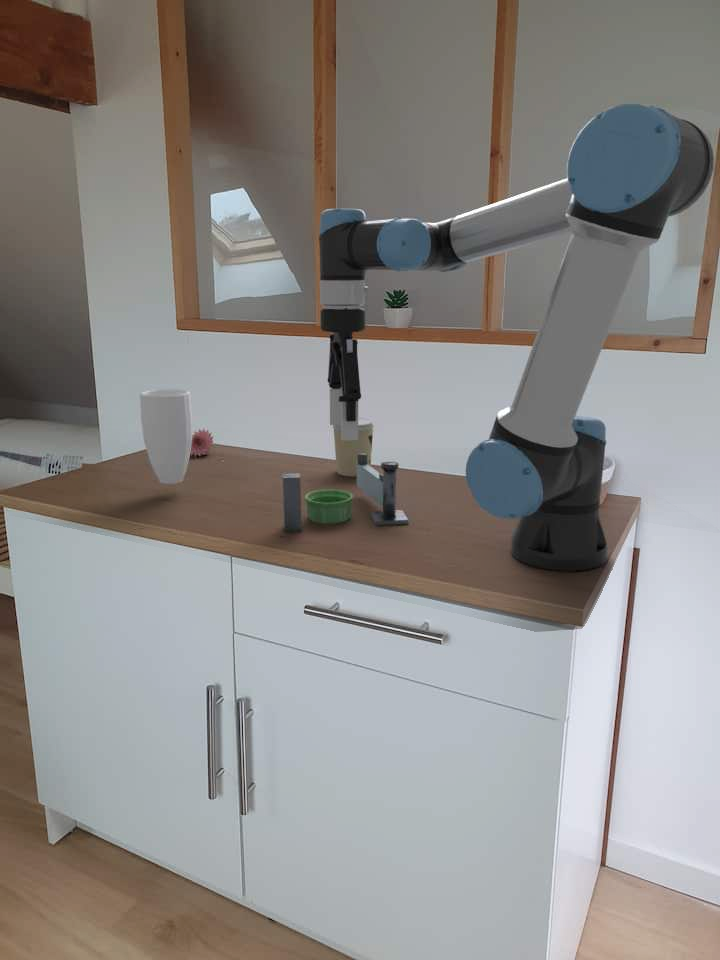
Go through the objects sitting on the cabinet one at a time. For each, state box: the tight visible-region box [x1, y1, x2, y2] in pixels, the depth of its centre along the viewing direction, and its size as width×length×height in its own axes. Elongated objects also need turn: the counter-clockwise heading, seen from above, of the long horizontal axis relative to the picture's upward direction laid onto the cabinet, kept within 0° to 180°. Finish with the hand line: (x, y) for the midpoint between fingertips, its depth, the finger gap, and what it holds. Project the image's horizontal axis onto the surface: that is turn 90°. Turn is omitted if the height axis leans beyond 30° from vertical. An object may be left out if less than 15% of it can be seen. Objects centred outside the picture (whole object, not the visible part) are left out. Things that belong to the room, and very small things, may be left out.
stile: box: [282, 472, 302, 533], centre depth 133 cm, size 3×3×10 cm
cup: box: [139, 388, 193, 485], centre depth 152 cm, size 10×10×22 cm
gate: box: [356, 453, 383, 508], centre depth 146 cm, size 16×2×7 cm, turn 18°
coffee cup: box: [332, 417, 375, 477], centre depth 171 cm, size 9×9×12 cm
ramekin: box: [304, 489, 354, 525], centre depth 140 cm, size 9×9×4 cm
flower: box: [190, 428, 214, 458], centre depth 190 cm, size 8×8×6 cm
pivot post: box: [370, 461, 409, 526], centre depth 137 cm, size 6×6×11 cm
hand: (343, 431), depth 130 cm, fingers open, 13 cm apart
